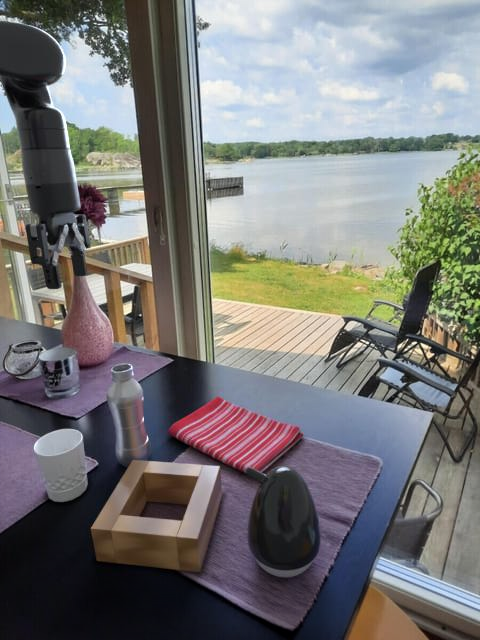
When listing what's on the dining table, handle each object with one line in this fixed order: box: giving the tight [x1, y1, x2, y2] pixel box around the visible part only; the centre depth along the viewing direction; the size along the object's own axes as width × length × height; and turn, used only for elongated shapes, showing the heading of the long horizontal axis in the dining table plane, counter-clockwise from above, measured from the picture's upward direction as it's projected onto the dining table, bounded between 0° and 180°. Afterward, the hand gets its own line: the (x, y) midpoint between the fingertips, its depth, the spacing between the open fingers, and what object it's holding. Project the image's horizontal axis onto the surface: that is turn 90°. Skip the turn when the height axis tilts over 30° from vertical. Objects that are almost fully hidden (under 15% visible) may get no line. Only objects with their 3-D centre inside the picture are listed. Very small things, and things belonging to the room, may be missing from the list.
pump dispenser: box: [245, 465, 322, 578], centre depth 61 cm, size 10×10×15 cm
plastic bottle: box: [106, 363, 152, 468], centre depth 82 cm, size 6×7×20 cm
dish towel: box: [168, 395, 304, 474], centre depth 92 cm, size 17×24×3 cm
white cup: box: [33, 428, 89, 503], centre depth 77 cm, size 8×8×10 cm
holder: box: [90, 460, 223, 573], centre depth 69 cm, size 16×16×6 cm
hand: (68, 281), depth 74 cm, fingers open, 8 cm apart
